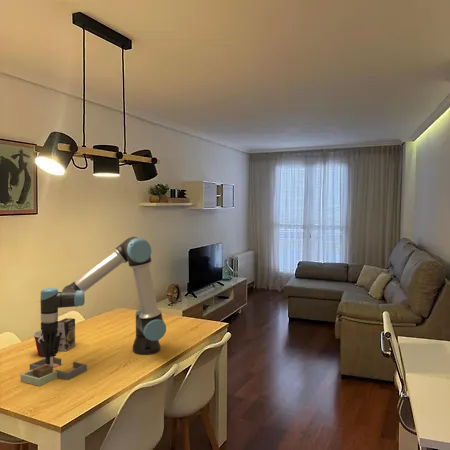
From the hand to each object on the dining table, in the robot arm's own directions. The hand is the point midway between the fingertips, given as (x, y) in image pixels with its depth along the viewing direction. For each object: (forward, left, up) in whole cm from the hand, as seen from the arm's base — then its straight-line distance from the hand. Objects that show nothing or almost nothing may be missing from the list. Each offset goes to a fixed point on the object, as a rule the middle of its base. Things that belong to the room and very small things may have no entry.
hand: (50, 370), depth 189 cm
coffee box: (+20, -29, -2) cm, 35 cm away
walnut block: (0, +4, -2) cm, 4 cm away
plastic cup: (+23, -17, -2) cm, 29 cm away
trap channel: (0, 0, -2) cm, 2 cm away
